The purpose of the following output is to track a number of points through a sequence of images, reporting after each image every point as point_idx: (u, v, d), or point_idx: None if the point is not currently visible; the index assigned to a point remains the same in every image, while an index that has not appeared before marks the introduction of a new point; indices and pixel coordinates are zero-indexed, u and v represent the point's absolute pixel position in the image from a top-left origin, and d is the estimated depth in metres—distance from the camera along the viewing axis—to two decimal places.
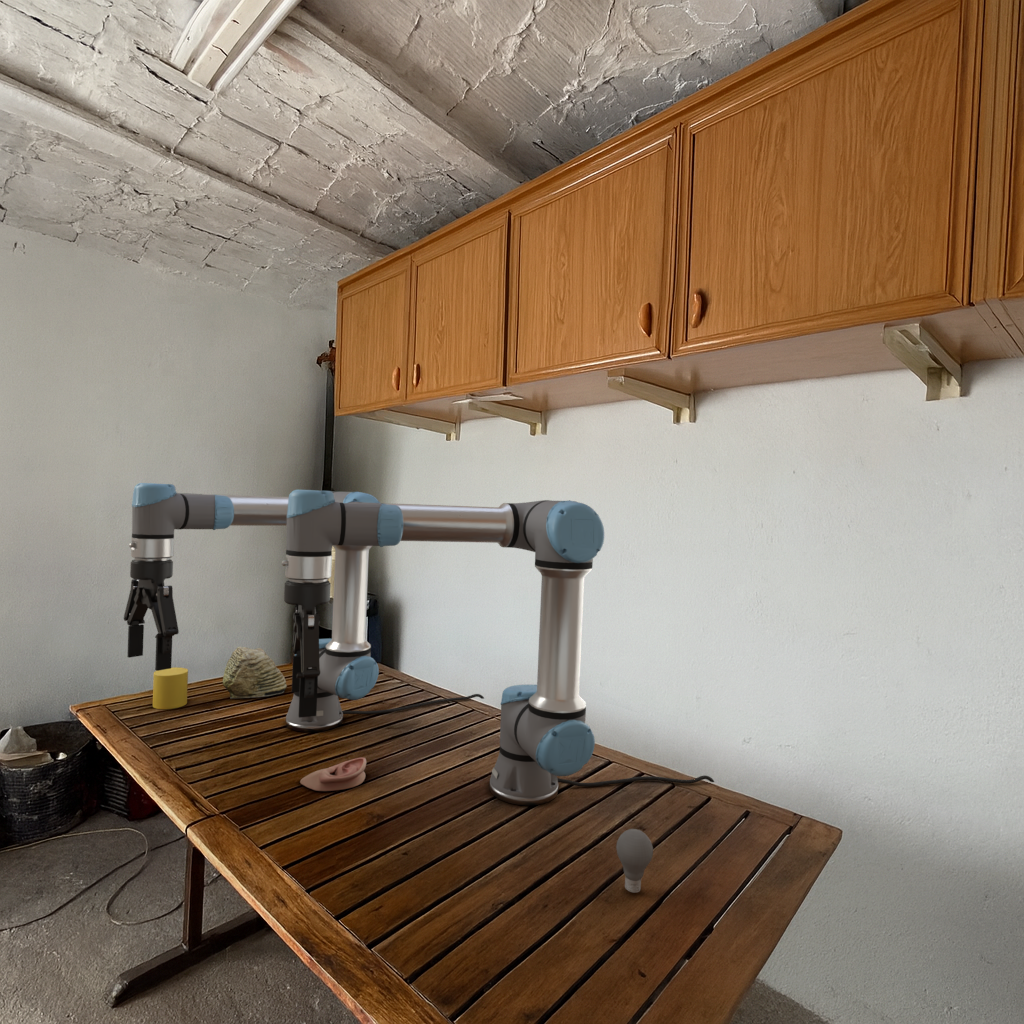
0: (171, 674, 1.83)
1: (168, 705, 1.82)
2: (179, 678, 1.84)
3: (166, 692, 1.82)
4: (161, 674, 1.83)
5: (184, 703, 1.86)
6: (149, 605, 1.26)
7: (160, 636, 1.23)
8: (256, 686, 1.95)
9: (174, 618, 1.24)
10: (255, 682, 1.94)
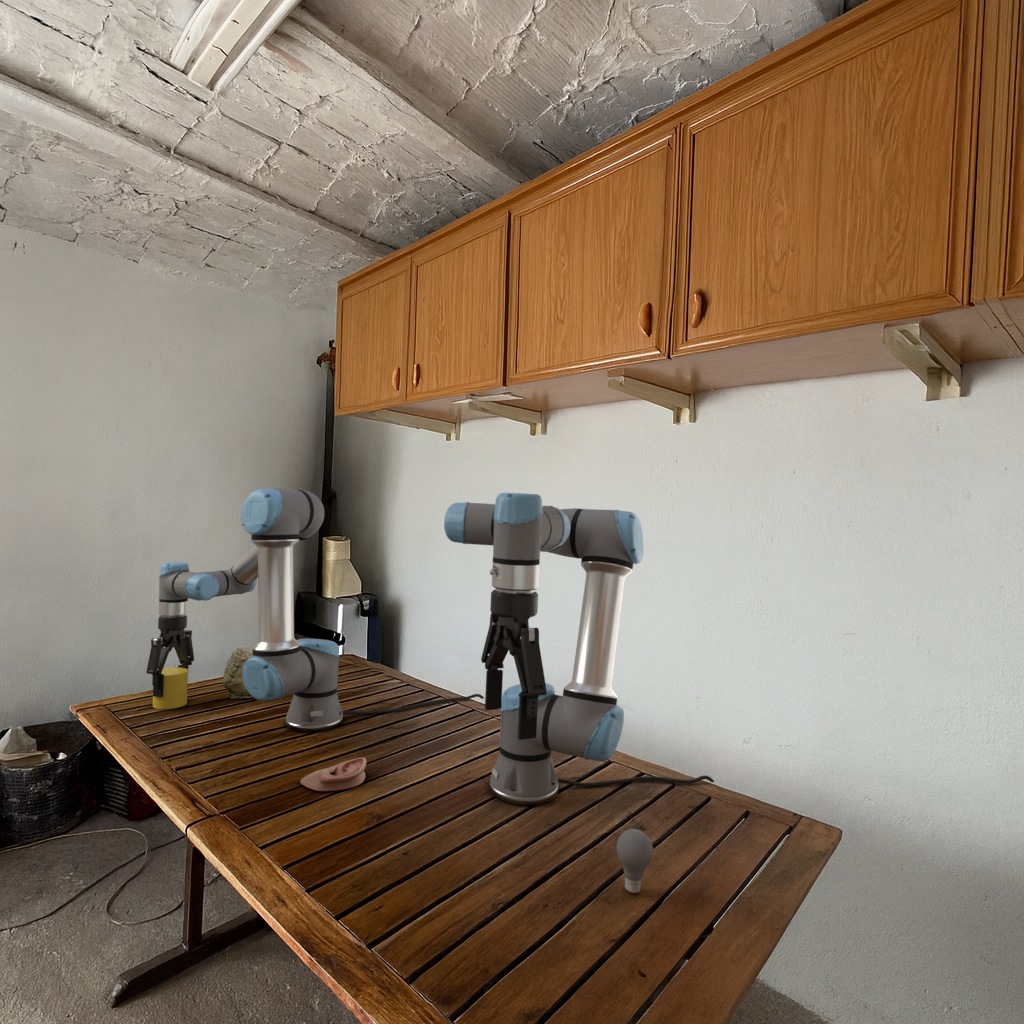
0: (171, 674, 1.83)
1: (168, 705, 1.82)
2: (179, 678, 1.84)
3: (166, 692, 1.82)
4: None
5: (184, 703, 1.86)
6: None
7: (151, 673, 1.80)
8: None
9: (154, 663, 1.78)
10: None
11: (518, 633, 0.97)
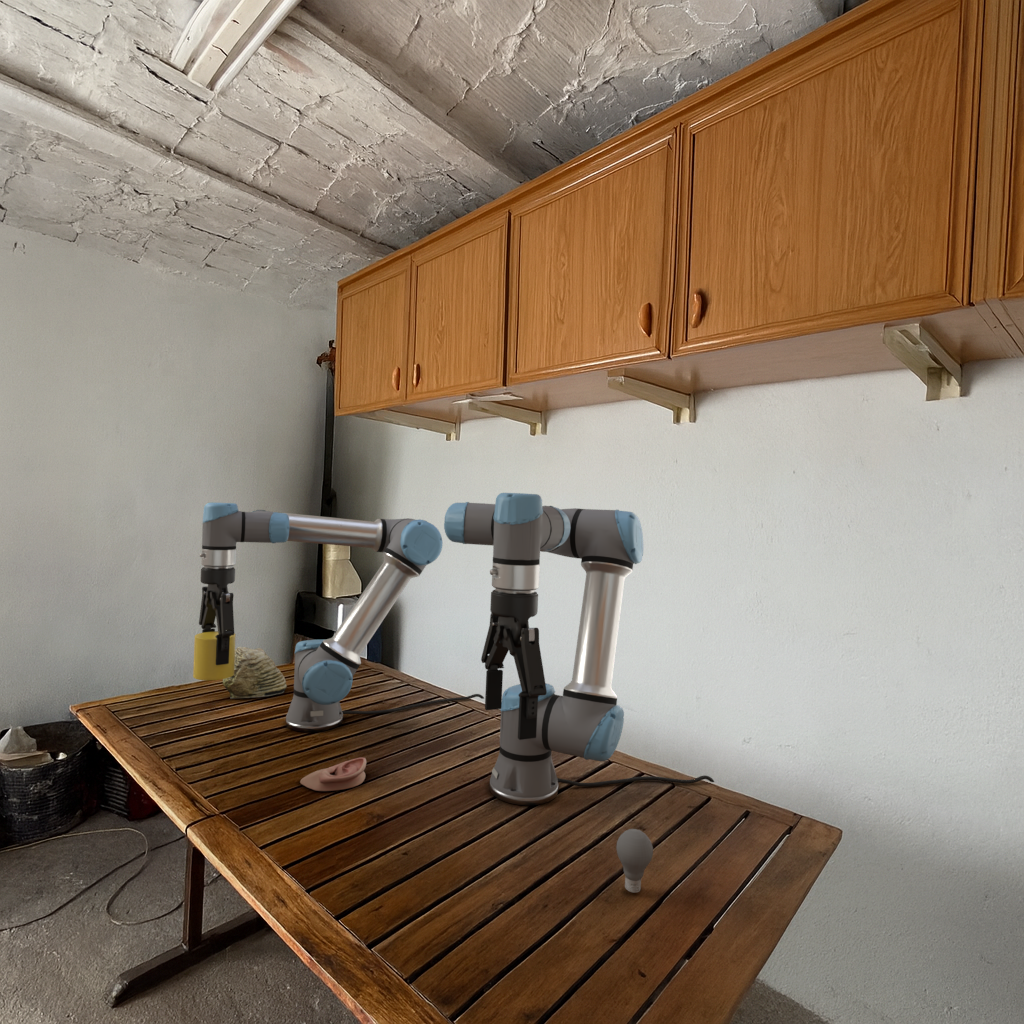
0: None
1: (230, 672, 1.52)
2: None
3: (229, 657, 1.51)
4: None
5: None
6: (213, 608, 1.49)
7: (219, 637, 1.47)
8: (256, 686, 1.95)
9: (232, 621, 1.48)
10: (255, 682, 1.94)
11: (518, 633, 0.97)
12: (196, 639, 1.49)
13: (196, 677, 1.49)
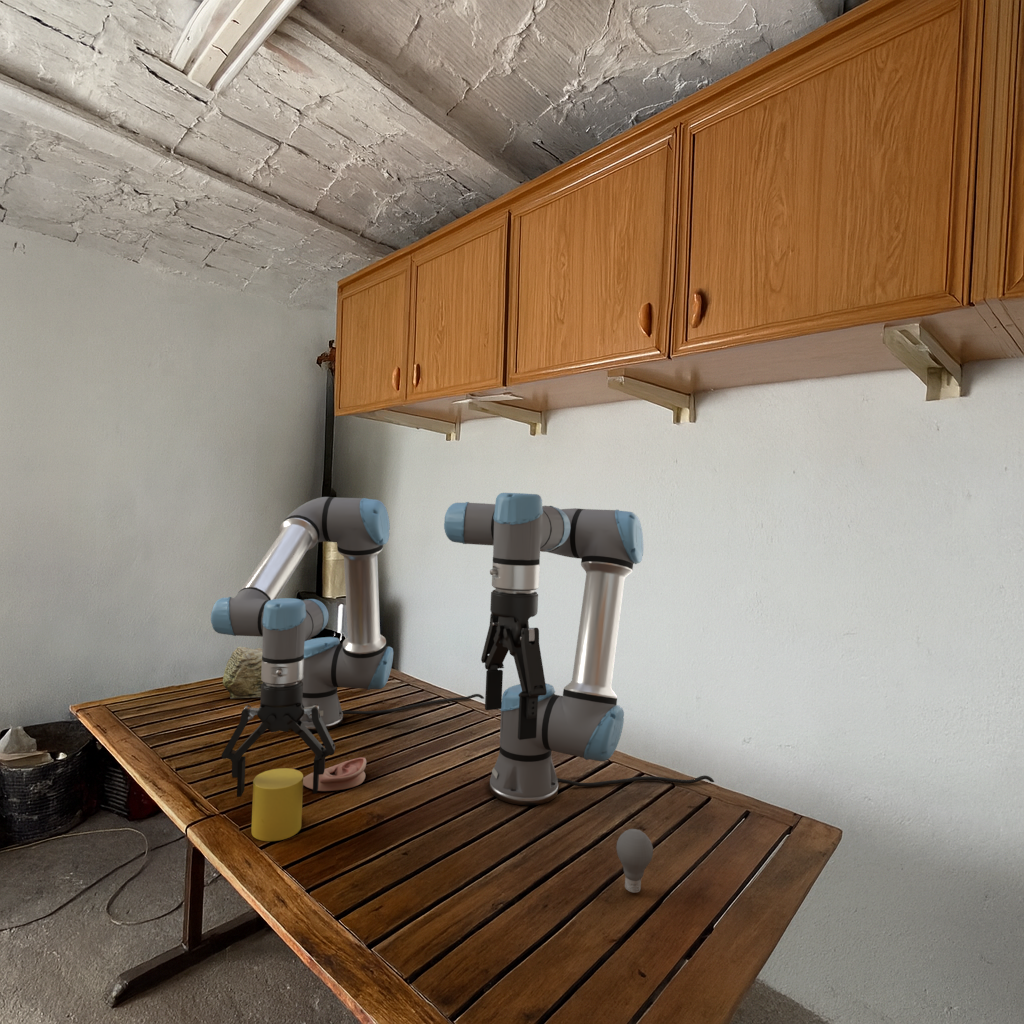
0: (294, 772, 1.23)
1: None
2: None
3: None
4: (297, 777, 1.21)
5: None
6: (298, 731, 1.19)
7: None
8: (256, 686, 1.95)
9: (329, 735, 1.23)
10: (255, 682, 1.94)
11: (518, 633, 0.97)
12: (276, 791, 1.16)
13: (278, 838, 1.16)
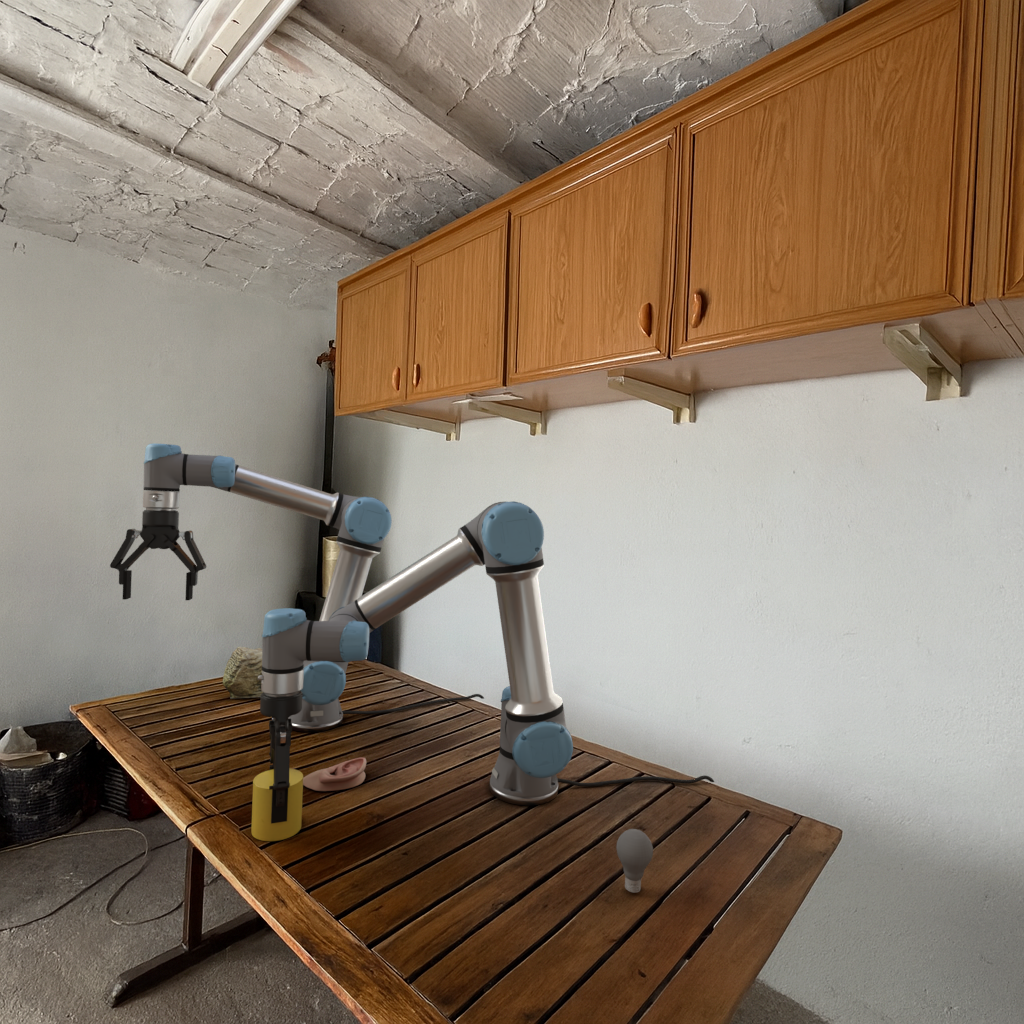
0: (294, 772, 1.23)
1: None
2: None
3: None
4: (297, 777, 1.21)
5: None
6: (173, 548, 1.49)
7: (194, 571, 1.50)
8: (256, 686, 1.95)
9: (201, 556, 1.52)
10: (255, 682, 1.94)
11: (276, 732, 1.16)
12: None
13: (278, 838, 1.16)
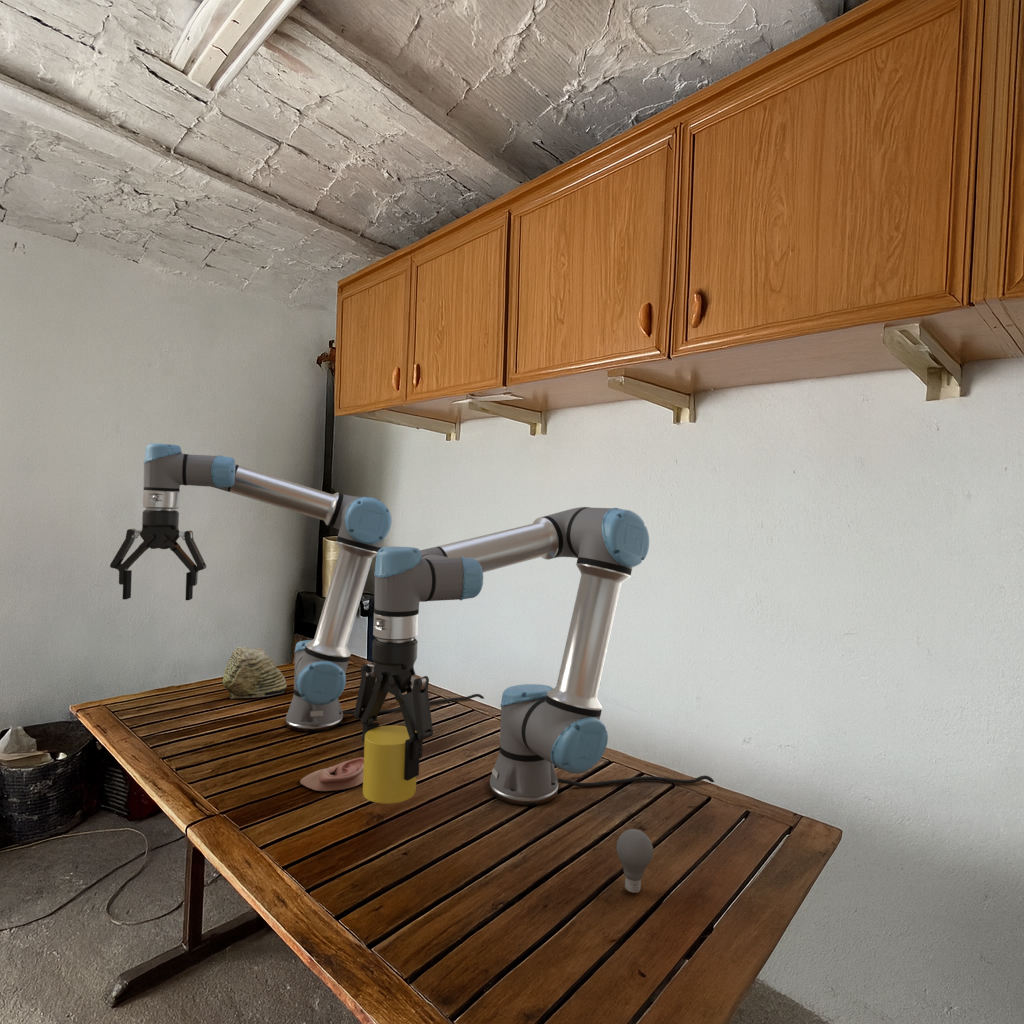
0: (396, 727, 1.11)
1: None
2: None
3: None
4: None
5: None
6: (173, 548, 1.49)
7: (194, 571, 1.50)
8: (256, 686, 1.95)
9: (201, 556, 1.52)
10: (255, 682, 1.94)
11: (407, 680, 1.05)
12: None
13: (409, 796, 1.06)
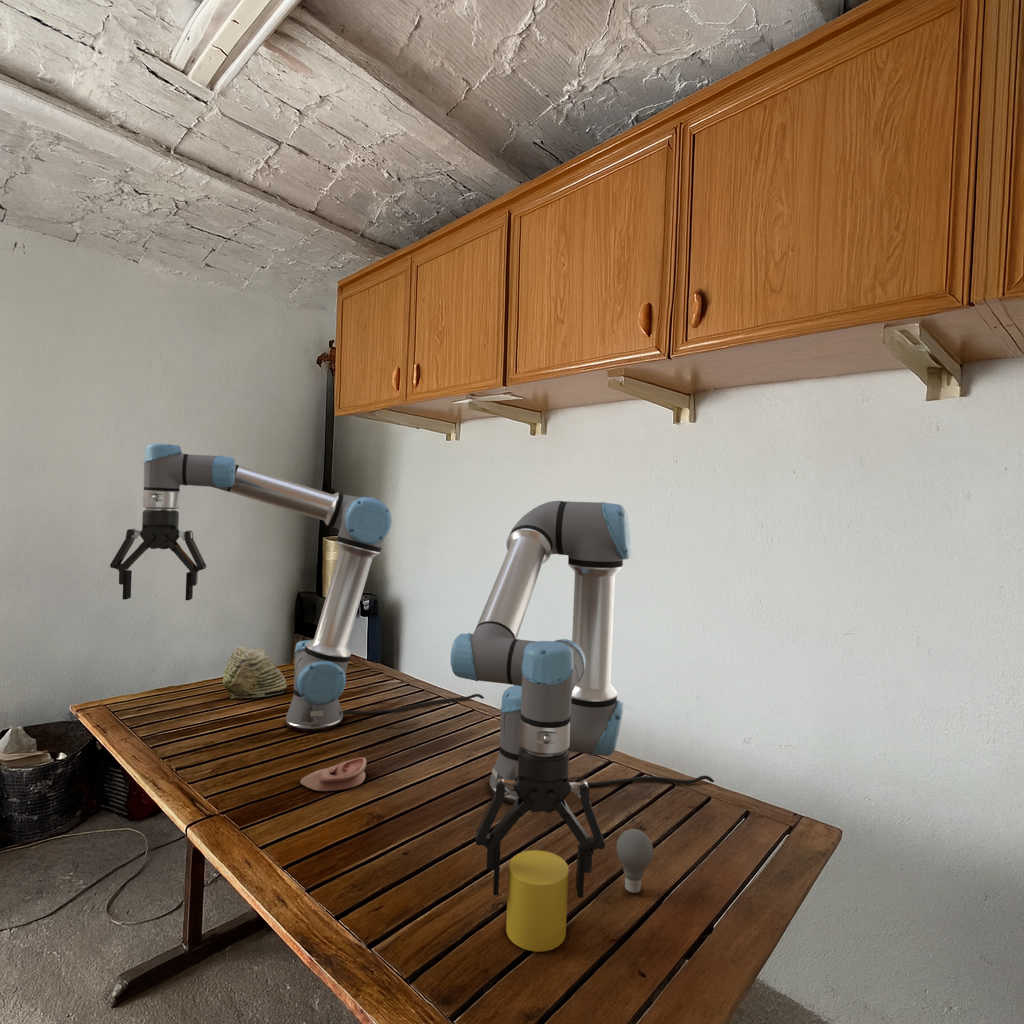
0: (526, 855, 0.98)
1: None
2: None
3: None
4: (543, 854, 0.98)
5: (506, 924, 0.95)
6: (173, 548, 1.49)
7: (194, 571, 1.50)
8: (256, 686, 1.95)
9: (201, 556, 1.52)
10: (255, 682, 1.94)
11: (569, 791, 0.94)
12: (568, 872, 0.94)
13: None
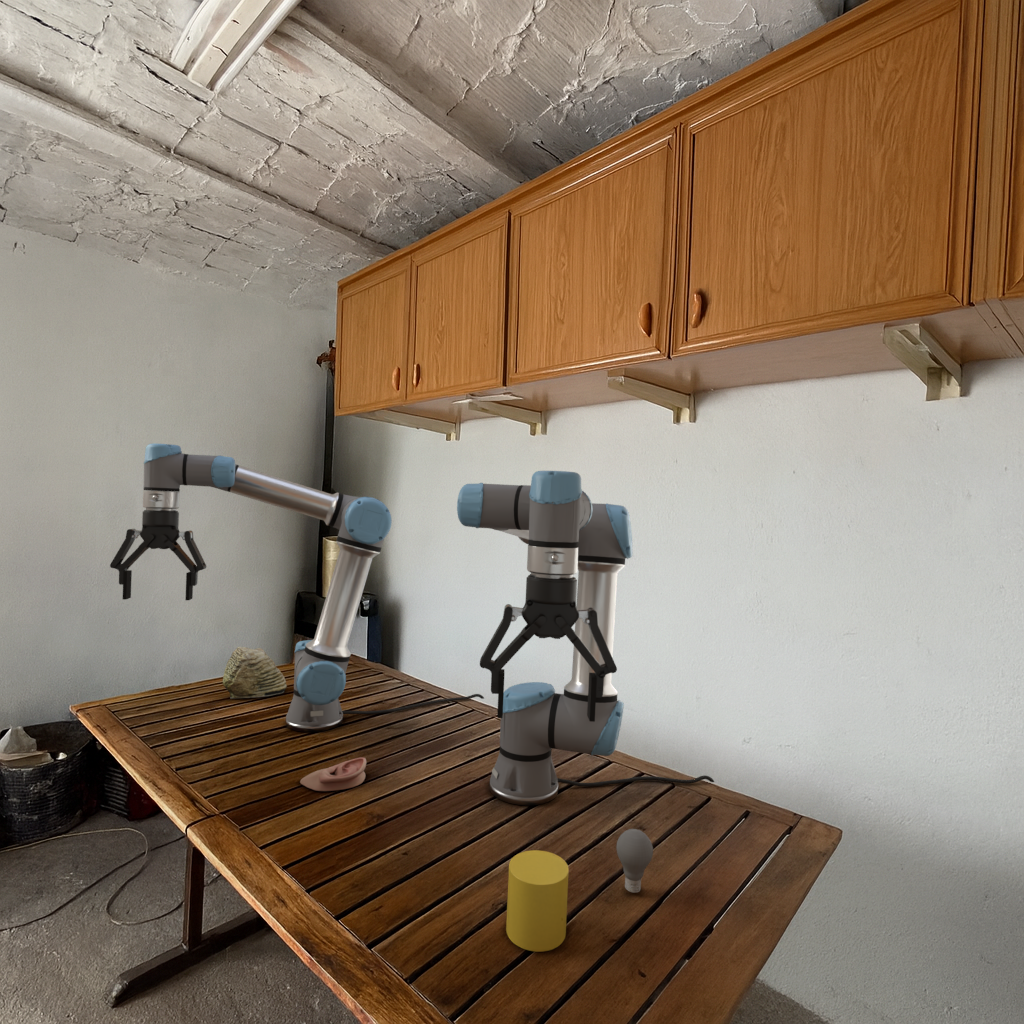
0: (526, 855, 0.98)
1: None
2: None
3: None
4: (543, 854, 0.98)
5: (506, 924, 0.95)
6: (173, 548, 1.49)
7: (194, 571, 1.50)
8: (256, 686, 1.95)
9: (201, 556, 1.52)
10: (255, 682, 1.94)
11: (577, 617, 0.93)
12: (568, 872, 0.94)
13: None
